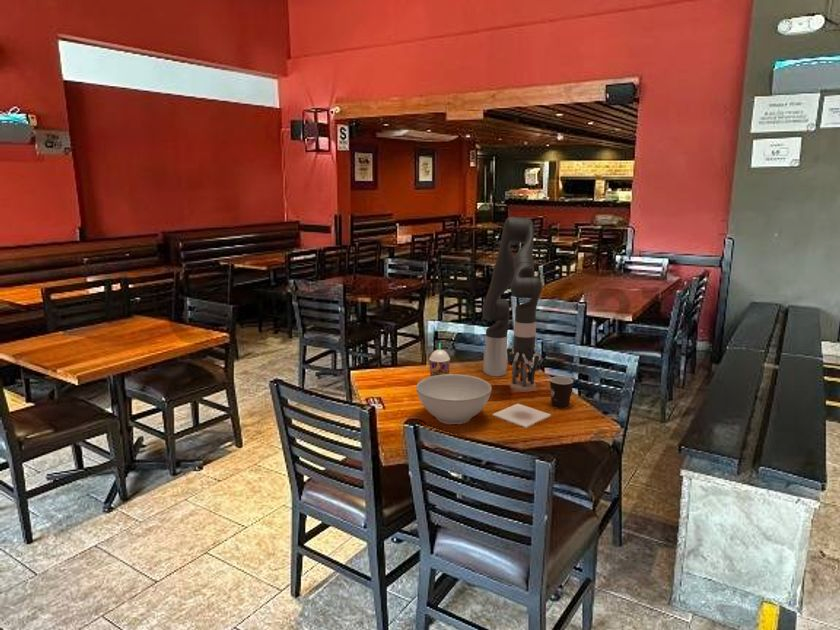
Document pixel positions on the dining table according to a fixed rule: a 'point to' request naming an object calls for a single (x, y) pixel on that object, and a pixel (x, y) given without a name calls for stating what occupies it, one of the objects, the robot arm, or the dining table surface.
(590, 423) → the dining table surface
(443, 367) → the smoothie
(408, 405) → the dining table surface
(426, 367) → the dining table surface
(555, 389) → the coffee mug
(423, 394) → the decorative bowl
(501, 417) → the mat
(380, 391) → the dining table surface
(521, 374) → the stool
